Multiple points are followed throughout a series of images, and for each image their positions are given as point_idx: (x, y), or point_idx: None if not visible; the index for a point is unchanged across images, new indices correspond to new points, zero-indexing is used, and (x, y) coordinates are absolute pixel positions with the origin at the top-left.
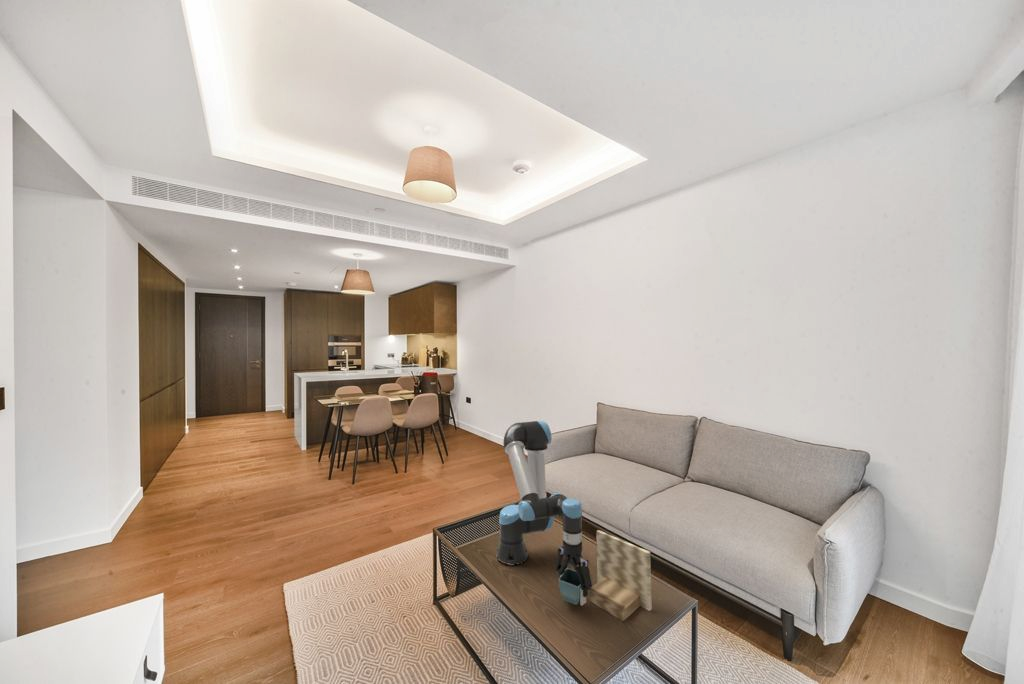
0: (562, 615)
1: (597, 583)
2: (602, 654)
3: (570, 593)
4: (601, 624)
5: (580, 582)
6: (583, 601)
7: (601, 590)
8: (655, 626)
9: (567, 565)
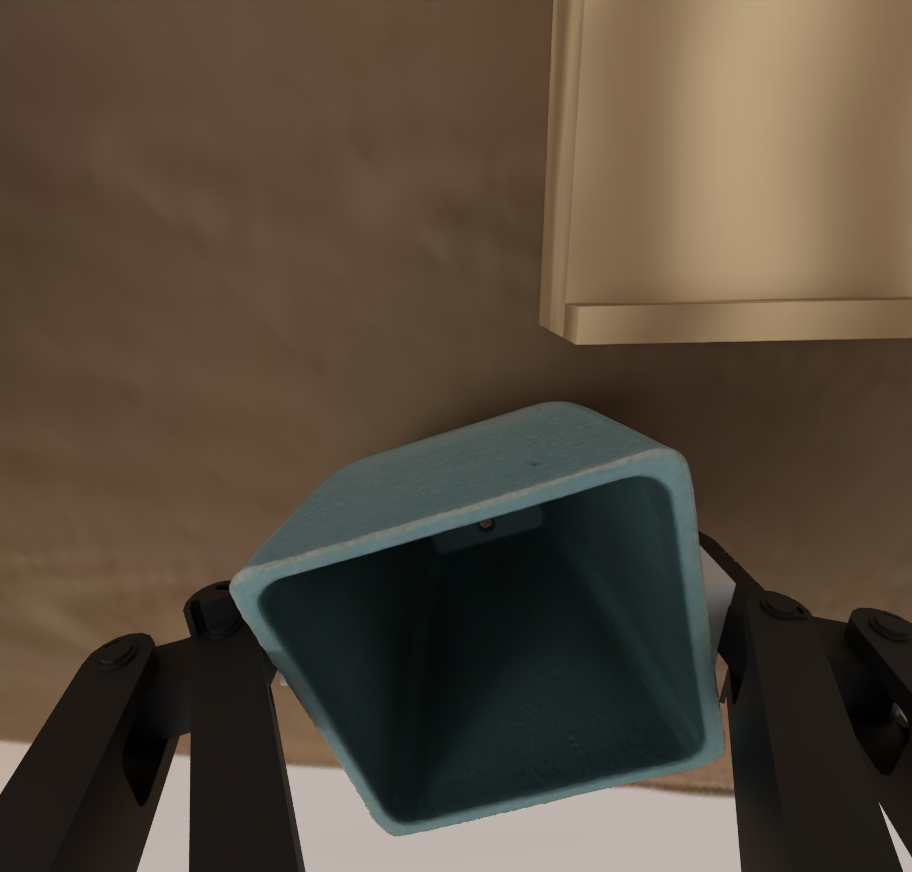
0: None
1: (589, 93)
2: None
3: (541, 657)
4: (784, 482)
5: (735, 747)
6: None
7: (717, 202)
8: None
9: (286, 797)
